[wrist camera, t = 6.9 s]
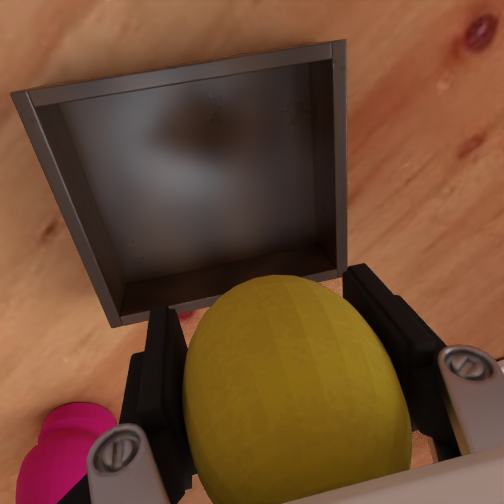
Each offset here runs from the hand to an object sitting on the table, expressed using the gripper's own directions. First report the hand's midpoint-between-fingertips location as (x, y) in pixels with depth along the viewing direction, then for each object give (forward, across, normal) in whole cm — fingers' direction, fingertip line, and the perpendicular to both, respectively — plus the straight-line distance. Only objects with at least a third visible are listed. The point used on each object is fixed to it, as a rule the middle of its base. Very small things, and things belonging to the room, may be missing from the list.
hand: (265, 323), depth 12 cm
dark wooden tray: (+15, +1, -1) cm, 15 cm away
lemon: (+1, 0, 0) cm, 1 cm away
